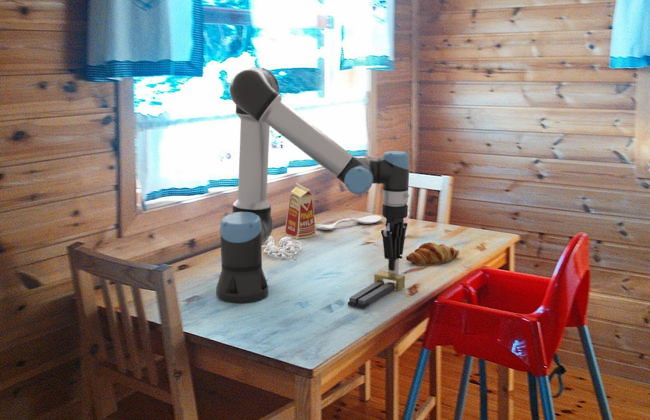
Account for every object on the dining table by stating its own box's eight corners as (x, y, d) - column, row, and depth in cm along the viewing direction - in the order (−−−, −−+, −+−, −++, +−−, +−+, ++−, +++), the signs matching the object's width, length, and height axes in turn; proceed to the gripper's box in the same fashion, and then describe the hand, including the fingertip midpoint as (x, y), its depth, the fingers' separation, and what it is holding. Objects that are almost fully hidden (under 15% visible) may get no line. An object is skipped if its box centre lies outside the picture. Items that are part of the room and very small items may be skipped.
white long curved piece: (308, 230, 289) (308, 221, 288) (372, 219, 307) (372, 211, 306) (321, 235, 282) (321, 226, 281) (386, 223, 300) (386, 215, 299)
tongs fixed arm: (387, 284, 224) (387, 276, 224) (402, 287, 221) (402, 279, 221) (348, 306, 205) (348, 298, 205) (363, 310, 203) (364, 301, 202)
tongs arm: (377, 287, 221) (377, 280, 220) (384, 288, 220) (384, 281, 219) (347, 305, 205) (347, 298, 205) (355, 307, 204) (355, 299, 203)
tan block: (380, 282, 225) (380, 270, 224) (404, 287, 220) (404, 275, 219) (374, 286, 221) (374, 274, 221) (398, 291, 217) (398, 278, 216)
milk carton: (284, 235, 281) (283, 183, 276) (302, 231, 287) (302, 180, 282) (299, 239, 274) (299, 187, 270) (318, 235, 280) (318, 184, 276)
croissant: (452, 264, 256) (447, 242, 258) (469, 258, 248) (464, 235, 249) (402, 271, 247) (396, 248, 248) (417, 265, 238) (412, 241, 240)
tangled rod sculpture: (302, 263, 250) (303, 252, 249) (260, 261, 248) (261, 249, 247) (300, 246, 268) (301, 235, 267) (260, 244, 267) (261, 233, 266)
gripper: (396, 209, 210) (394, 287, 216) (416, 201, 221) (413, 276, 226) (373, 206, 214) (371, 283, 219) (394, 198, 225) (391, 271, 230)
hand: (393, 279), depth 223 cm, fingers closed
